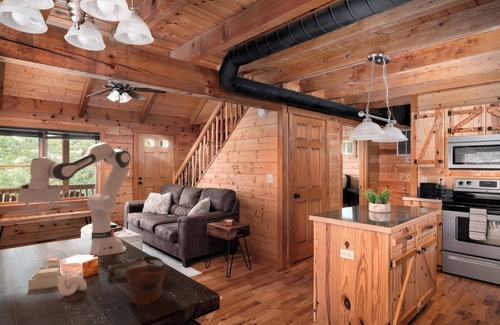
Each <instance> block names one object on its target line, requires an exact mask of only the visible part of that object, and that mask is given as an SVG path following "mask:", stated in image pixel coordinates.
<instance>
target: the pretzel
mask: <svg viewBox="0 0 500 325" xmlns="http://www.w3.org/2000/svg"><path fill="white" fill-rule="evenodd" d="M83 276H84V273H83V271H82V270H81V269H80V270H77V271H76V272H75V273H74V274H72V273H70V272H69V273H65V274H63V275H61V276H60V278H59V279H58V284H57V286H58V287H57V290H58V292H59V293H60V294H61V295H63V296H65V297H68V296H72V295H74V293H76V291H80V292H81V291H85V290H86V289H87V287H88V286H87V282H86V280H85V278H83Z"/></svg>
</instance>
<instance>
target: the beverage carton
mask: <svg viewBox="0 0 500 325" xmlns="http://www.w3.org/2000/svg"><path fill="white" fill-rule="evenodd" d="M133 262H134V261H131V262H124V263H115V264H109V265H108V268H107V280H108V281H110V280H111V281H113V280H120V279H127V277H125V274H126V269H127V267H128V266H129V265H130V264H131V263H133Z"/></svg>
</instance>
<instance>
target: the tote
mask: <svg viewBox="0 0 500 325" xmlns="http://www.w3.org/2000/svg"><path fill="white" fill-rule="evenodd" d="M60 265H61V264H59V269H60ZM42 269H46V266H39V267H38V268H37V269H36V271H35V272H34V273H33V274H32V275H31V277H30V278H28V283H27V285H28V286H27V287H28V291H36V290H45V289H52V288H58V286H57V284H58V279H59V278H60V276H61V273H60V276H57V277H49V278H40V279H36V274H37V272H38V271H39V270H42ZM65 273H67V269H65V271H64V272H63V274H65ZM63 274H62V275H63Z"/></svg>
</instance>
